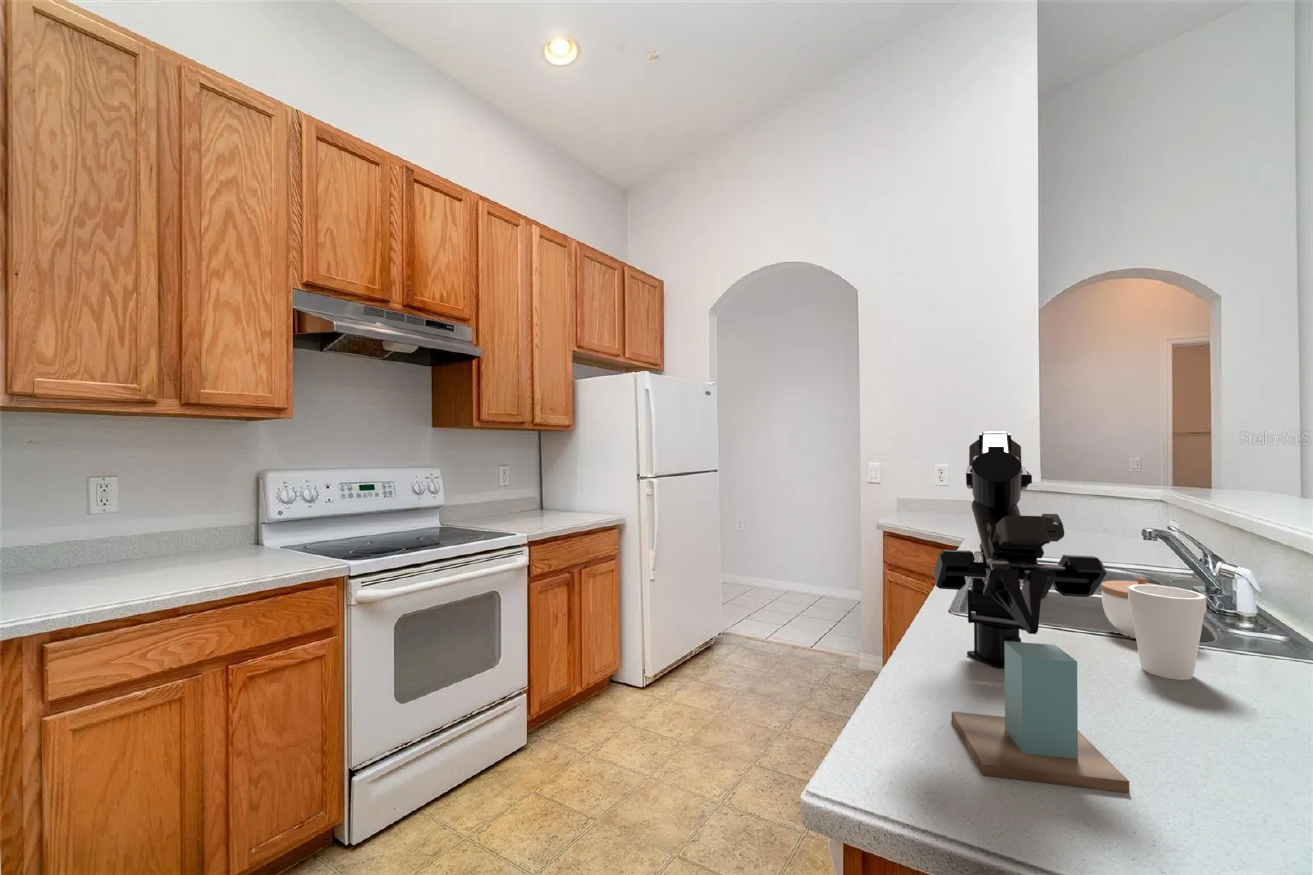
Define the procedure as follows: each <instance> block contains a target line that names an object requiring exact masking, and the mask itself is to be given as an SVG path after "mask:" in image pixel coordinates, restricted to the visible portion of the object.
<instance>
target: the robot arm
mask: <svg viewBox="0 0 1313 875" xmlns="http://www.w3.org/2000/svg"><path fill="white" fill-rule="evenodd" d="M968 449H969V450H968V451H969V454H968V465H967V467H966V471H965V478H966V479H965V483H966V484H965V485H966V488H967V489H972V496H973V501H972V503H971V510H972V514H973V516H974V521H975V524H976V528H977V532H978V535H979V539H980V544H979V550H980V552H981V553H982V562H979V561H975V560H976V559H975V555H974V552H973V551H971V550H963V549H962V550H960V549H959V550H956V549H941V551H940V552H939V553H938V556H937V559H936V562H935V565H934V566H935V567H934V569H933V570H934V571H933V573H934V574H933V577H934V581H935V582H934V583H935V586H936V587H937V588H938V589H940V590H941V589H942V590H958V591H961V590H962V589H963V588H964V587H965V586H967V581H966V577H967V578H968V579H969V578H970V579H972V586H967V622H968V623H969V624H973V637H974V638H973V639H974V640H973V645H974V647H973V649H974V650H968V651H966V655H967V656H970V657H972V658H974V659H976V660H978V661H980V662H983V663H985V664H988V665H991V666H992V667H995V668H1005V646H1004V641H1010V642H1022V638H1021V637H1020V630H1021V631H1025V632H1027V634H1029V635H1036V634H1037V633H1038V631H1039V626H1040V612H1041V602H1042V600H1044V599H1046V597H1047V595H1048V593H1049V591H1050V590H1051V588H1052V586H1053V588H1054V590H1055V591H1056V593H1057V592H1058V593H1059V594H1060V595H1062V596H1064V597H1073V598H1074V597H1076V598H1077V597H1079V598H1090V597H1092V596H1093V595H1094V594H1095V592H1096V591H1097V589H1098V588H1099V587H1100V586H1101V583H1102V582H1103V580H1104V579H1105V577H1106V575H1107V574H1108V573H1107V570H1106V568H1105V566H1104V564H1103V562H1102V561H1101V559H1100V558H1099V557H1097V556H1094V555H1078V554H1077V555H1075V554H1074V555H1071V554H1062V556H1061V558H1060V560H1059V562H1058V563H1057V564H1048V563H1047V564H1046V563H1038V559H1042V558H1043V556H1044V554H1045V552H1044V548H1043V547H1044V546H1045V545H1046V544H1047V545H1049V544H1050V543H1051V542H1053V543H1054V542H1056V543H1057V542H1058V541H1060V540H1062V539H1063V538H1064V536H1065V528H1064V524H1063V521H1062V520H1061V518H1060V516H1059V513H1042V515H1022V514H1021V511H1020V509H1019V506H1018V504H1019V501H1020V500H1021V496H1022V495H1021V491H1027V489H1028V485H1030V484H1032V483H1033V475H1032V474H1031V473H1029V471H1028V470H1027V469H1026V466H1022V447H1021V445H1020V444H1018V443H1017V442H1016V441H1015V440H1013V439H1012V432H1008V431H1007V430H1006V431H1004V430H1003V431H1001V430H997V431H995V430H993V431H983V432H978V439H977V440H975V441H974V442H972V444H970V445H969V448H968Z"/></svg>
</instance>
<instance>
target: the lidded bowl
mask: <svg viewBox="0 0 1313 875" xmlns="http://www.w3.org/2000/svg"><path fill="white" fill-rule="evenodd" d="M1142 584H1145V585H1158V584H1157V583H1152V582H1147V578H1145V577H1137V581H1132V580H1106V581H1102V582H1101V583H1100V589H1101V603H1102V607H1103V612H1104V614H1105V616H1106V618H1107V619H1108V621H1109V622H1110V624H1112V626H1113V627H1114V628H1116V629H1117V630H1118V633H1119V634H1121V635H1122V636H1125V637H1128V636H1130V637H1129V638H1132V639H1136V635H1135V629H1134V623H1133V617H1132V611H1131V605H1130V602H1129V601H1128V586H1131V585H1142ZM1159 585H1160V586H1164V585H1162V584H1159Z"/></svg>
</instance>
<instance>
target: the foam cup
mask: <svg viewBox="0 0 1313 875" xmlns="http://www.w3.org/2000/svg"><path fill="white" fill-rule="evenodd" d="M1160 585H1161V584H1157V585H1145V584H1142V585H1131V586H1128V601H1129V602H1130V605H1131V611H1132V617H1133V623H1134V629H1135V635H1136V646H1137V653H1138V658H1139V663H1140V668H1141V669H1142V670H1143V671H1145V672H1147V674H1151V675H1154V676H1157V677H1161V678H1165V679H1169V680H1170V679H1171V680H1179V681H1188V680H1189V681H1190V680H1192V679H1194V674H1195V670H1196V665H1197V658H1198V653H1199V648H1200V641H1201V640H1200V639H1201V635H1202V629H1203V624H1204V619H1205V613H1207V596H1206V595H1205V594H1203V593H1200V592H1197V591H1194V590H1190V589H1185V588H1179V587H1174V586H1166V585H1163V586H1160Z"/></svg>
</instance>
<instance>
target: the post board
mask: <svg viewBox="0 0 1313 875" xmlns="http://www.w3.org/2000/svg"><path fill="white" fill-rule="evenodd" d="M951 722H952V723H953V725H954V727H955V729H956V731H957V732H958V734H959V736H960V737H961V739H962V741H963V743H964V744H965V746H966V748H967V750H968V751H969V754H970V755H971V756H972V758H973V760H974V762H975V763H976V765H977V767H978V769H979V770H980V772H981V774H982V776H987V777H994V778H995V777H997V778H1004V779H1013V780H1020V781H1021V780H1022V781H1030V782H1036V783H1043V784H1044V783H1047V784H1053V785H1055V784H1056V785H1062V786H1070V787H1078V788H1079V787H1080V788H1087V789H1095V790H1104V791H1112V792H1118V793H1119V792H1121V793H1128V794H1129V793H1130V780H1128V779H1127V777H1125V775H1123V773H1121V771H1120V770H1119V769H1117V767H1116V766H1115V765H1114V764H1113V763H1112V762H1110V760H1108V758H1107V757H1106V756H1104V755H1103V753H1102V752H1101V751H1099V749H1098V748H1096V746H1094V744H1093V743H1092V742H1091V741H1089V739H1088V738H1087V737H1086V736H1085V735H1083V733H1082V732H1081V731H1079V730H1078V759H1072V758H1063V757H1054V756H1045V755H1036V754H1027V753H1022V752H1021V750H1020V749H1019V748H1018V746H1017V745H1016V744H1015V742H1014V741H1013V740H1012V738H1011V737H1010V736H1009V734H1008V733H1007V732H1006V730H1005V716H1002V715H1001V716H1000V715H992V714H991V715H989V714H981V713H969V712H961V711H951Z"/></svg>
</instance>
